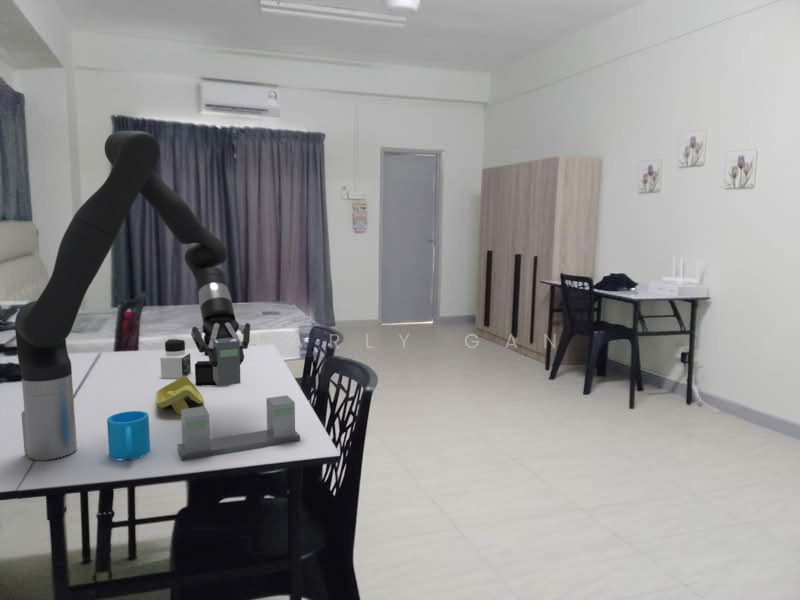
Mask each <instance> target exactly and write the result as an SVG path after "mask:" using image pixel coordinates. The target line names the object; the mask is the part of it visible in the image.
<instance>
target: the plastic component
mask: <svg viewBox="0 0 800 600" xmlns="http://www.w3.org/2000/svg"><path fill="white" fill-rule="evenodd" d="M185 397H188V398H189V399H190V400H191V401H193V402H194V403H196V404H199V405H200V404H201V405H202V403H204V398H203V395H202V394H201V392H200V391H199V390H198V389H197V386H196V385H194V383H193V382H192V381H191V380H190V379H189V378H188V377H187V376H186V377H181V378H179V379H176V380H174V381H172V382H171V383H170V382H169V384H167V385H165V386H163V387H162V388H160V389H159V390H156V394H155V403H156V405H157V406H158V407H160V409H165V408H166V407H169V406H170V405H171V407H172V408H173V409H174V411H175V413H176V414H177V415H181V409H188V408H190V406H189V404H188V403H187V401H186V400H185Z"/></svg>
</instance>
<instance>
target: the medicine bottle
mask: <svg viewBox="0 0 800 600" xmlns="http://www.w3.org/2000/svg"><path fill="white" fill-rule="evenodd" d="M164 352H165V354H164V355H162V356H160V359H159V360H160V361H159V362H160V377H161V379H175V378H181V377H185V376H186V377H187V376H188V374H189V375H190V374H191V373H192V370H191V368H192V367H191V365H192V364H191V352H190V351H189V352H187V351H186V341H185V340H184V339H182V338H181V339H180V338H172V339H169V340H166V341H165V342H164Z"/></svg>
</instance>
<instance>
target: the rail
mask: <svg viewBox="0 0 800 600" xmlns="http://www.w3.org/2000/svg"><path fill="white" fill-rule="evenodd" d="M265 400H266V429H265V430H258V431H252V432H245V433H240V434H233V435H227V436H222V437H220V436H219V437H214V438H211V432H210V431H211V427H210V425H211V424H210V413H209V411H208V410H207V408H206V406H205V405H204V406H197V407H189V408H188V409H181V414H180V416H181V417H180V418H181V421H180V422H181V437H182V439H181V440H182V441H181V442H182V443H177V451H179V452H178V454H179V456H180V460H181V461H189V460H194V459H199V458H207V457H212V456H218V455H224V454H229V453H235V452H241V451H246V450H251V449H252V450H253V449H260V448H264V447H265V448H266V447H270V446H276V445H281V444H283V445H284V444H288V443H293V442H300V441H301V435H300V433H298V432H297V431H296V411H295V410H296V407H295V406H296V403H295V402H296V401H294V400H293V399H292V398H291V397H289V396H288V395H279V396H272V397H266V399H265Z"/></svg>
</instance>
